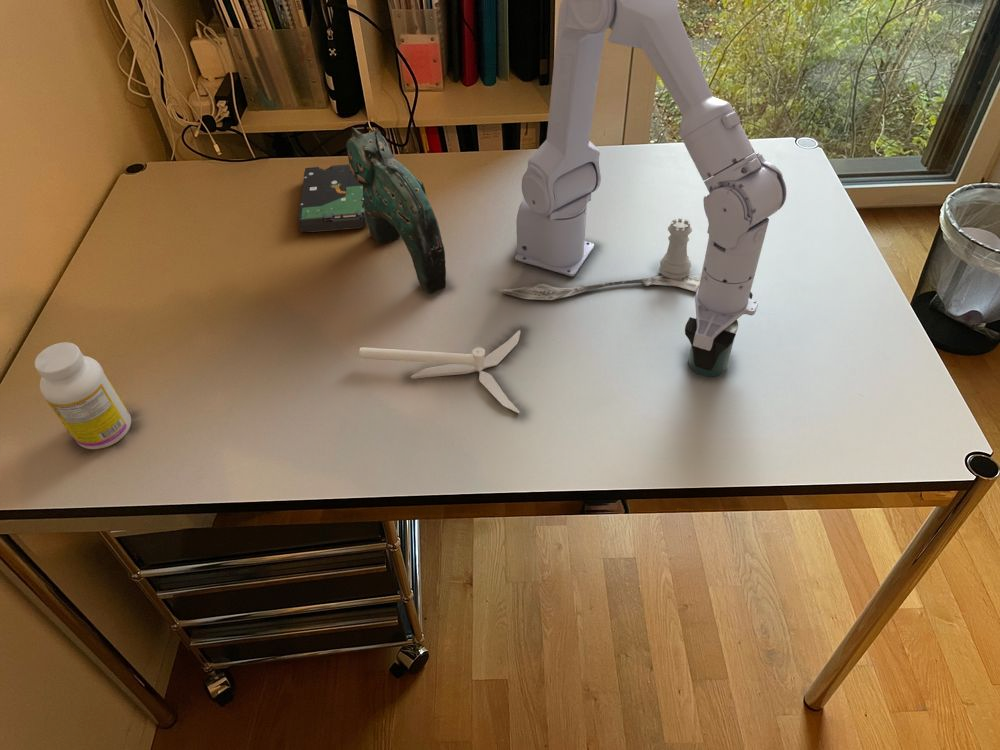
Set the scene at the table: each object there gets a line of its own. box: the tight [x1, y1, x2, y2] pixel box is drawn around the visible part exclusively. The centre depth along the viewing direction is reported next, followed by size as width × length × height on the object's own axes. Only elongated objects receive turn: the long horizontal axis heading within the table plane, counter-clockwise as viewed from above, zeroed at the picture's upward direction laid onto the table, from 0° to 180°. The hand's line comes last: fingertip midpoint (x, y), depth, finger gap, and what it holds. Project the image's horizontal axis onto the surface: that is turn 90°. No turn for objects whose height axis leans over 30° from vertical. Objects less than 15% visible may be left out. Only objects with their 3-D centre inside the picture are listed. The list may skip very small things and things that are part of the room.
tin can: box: [688, 319, 739, 377], centre depth 96 cm, size 5×5×7 cm
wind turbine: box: [358, 330, 522, 414], centre depth 99 cm, size 4×14×21 cm
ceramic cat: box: [345, 127, 447, 295], centre depth 108 cm, size 20×6×20 cm, turn 33°
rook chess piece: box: [658, 217, 693, 279], centre depth 108 cm, size 4×4×8 cm
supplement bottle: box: [34, 341, 132, 450], centre depth 90 cm, size 7×7×13 cm
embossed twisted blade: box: [498, 274, 701, 301], centre depth 108 cm, size 32×1×5 cm
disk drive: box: [297, 164, 368, 233], centre depth 125 cm, size 10×3×15 cm
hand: (710, 352), depth 97 cm, fingers closed on tin can, 5 cm apart
